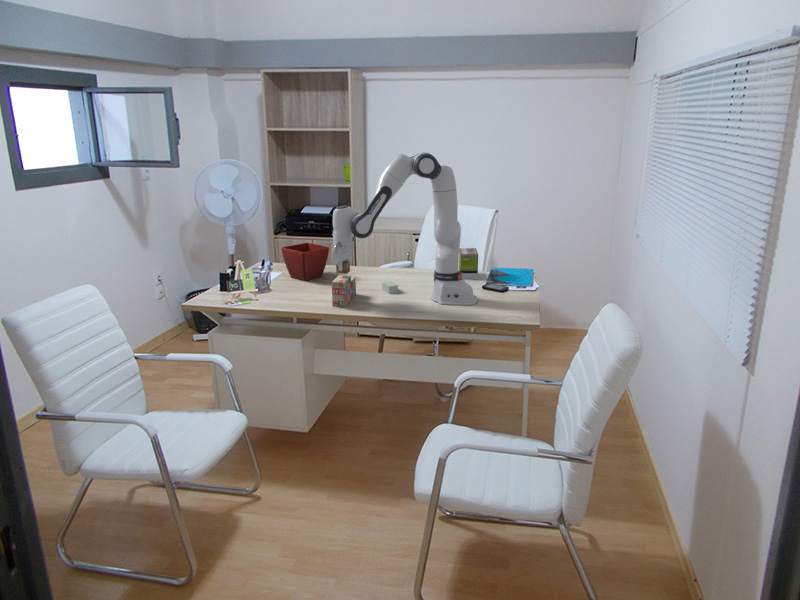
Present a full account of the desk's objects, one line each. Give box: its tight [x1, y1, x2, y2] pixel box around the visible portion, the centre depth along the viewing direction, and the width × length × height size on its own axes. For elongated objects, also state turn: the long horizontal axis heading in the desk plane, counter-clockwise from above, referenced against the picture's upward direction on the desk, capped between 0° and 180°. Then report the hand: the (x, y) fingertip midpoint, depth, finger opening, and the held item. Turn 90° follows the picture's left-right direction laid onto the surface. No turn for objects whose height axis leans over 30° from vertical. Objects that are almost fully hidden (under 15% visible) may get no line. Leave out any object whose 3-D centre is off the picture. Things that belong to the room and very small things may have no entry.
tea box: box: [458, 247, 479, 280], centre depth 328 cm, size 15×10×15 cm, turn 178°
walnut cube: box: [335, 260, 351, 275], centre depth 280 cm, size 5×5×5 cm
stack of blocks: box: [331, 274, 357, 308], centre depth 284 cm, size 21×6×12 cm, turn 170°
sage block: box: [381, 281, 399, 295], centre depth 301 cm, size 5×8×4 cm, turn 27°
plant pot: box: [280, 242, 330, 281], centre depth 324 cm, size 19×19×17 cm
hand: (343, 269), depth 280 cm, fingers closed on walnut cube, 5 cm apart
